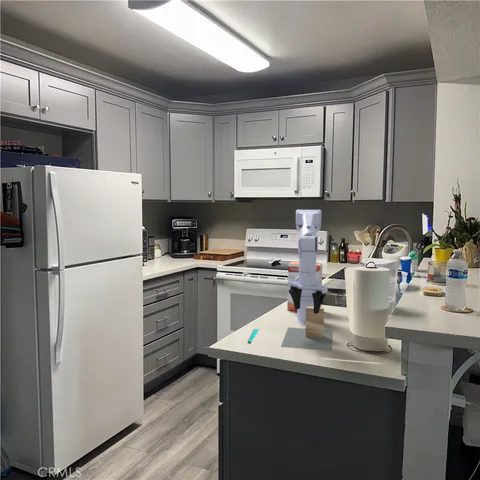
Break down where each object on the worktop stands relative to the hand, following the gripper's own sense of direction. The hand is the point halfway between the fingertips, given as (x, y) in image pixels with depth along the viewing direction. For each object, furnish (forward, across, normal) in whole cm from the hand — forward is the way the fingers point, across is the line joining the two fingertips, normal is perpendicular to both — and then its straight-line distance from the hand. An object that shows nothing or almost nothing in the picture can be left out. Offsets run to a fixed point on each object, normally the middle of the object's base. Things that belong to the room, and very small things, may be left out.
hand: (306, 311), depth 141 cm
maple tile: (+9, +1, +4) cm, 10 cm away
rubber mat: (+10, +1, 0) cm, 10 cm away
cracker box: (+10, -23, +33) cm, 41 cm away
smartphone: (+10, -13, -8) cm, 19 cm away
